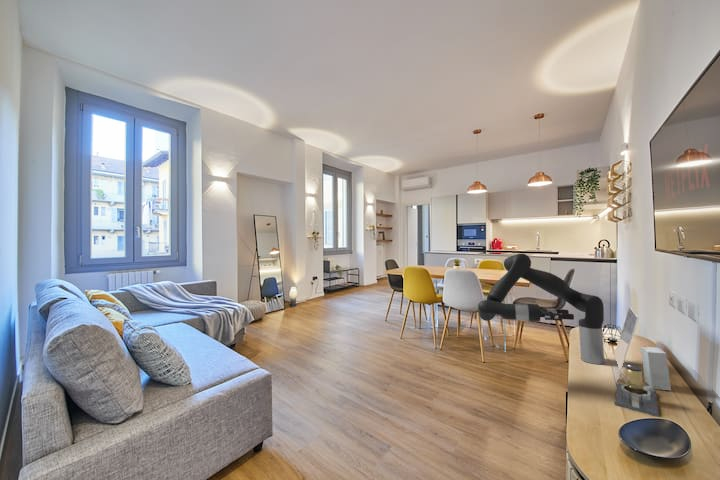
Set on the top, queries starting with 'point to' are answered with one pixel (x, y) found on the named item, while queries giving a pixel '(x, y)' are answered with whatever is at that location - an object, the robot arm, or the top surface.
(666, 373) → the skincare box
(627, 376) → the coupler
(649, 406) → the socket base
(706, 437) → the top surface
